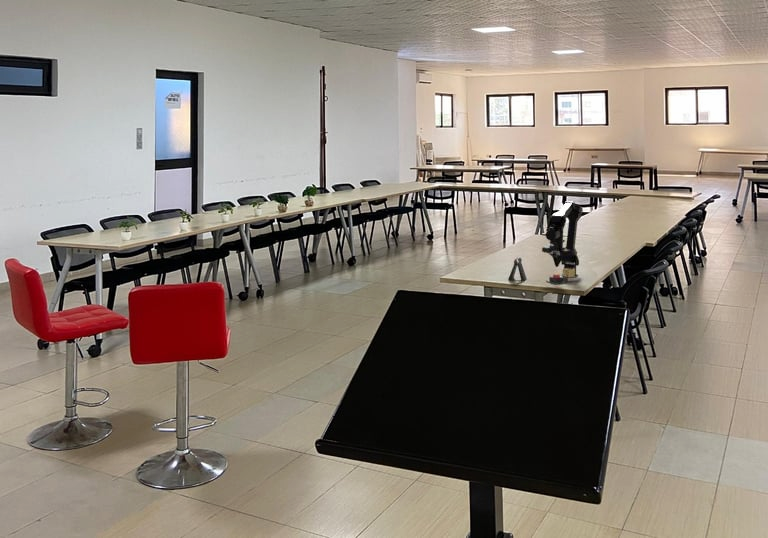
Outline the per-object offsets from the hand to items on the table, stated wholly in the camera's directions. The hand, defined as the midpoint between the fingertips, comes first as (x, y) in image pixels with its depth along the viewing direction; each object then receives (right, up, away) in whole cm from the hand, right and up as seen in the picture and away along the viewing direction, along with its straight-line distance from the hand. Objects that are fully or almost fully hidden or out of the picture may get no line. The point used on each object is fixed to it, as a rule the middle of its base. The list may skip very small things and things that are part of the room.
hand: (556, 266), depth 406 cm
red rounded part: (0, -7, +1) cm, 7 cm away
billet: (+8, -7, +5) cm, 11 cm away
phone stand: (-19, -7, +10) cm, 23 cm away
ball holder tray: (+4, -8, +4) cm, 9 cm away
